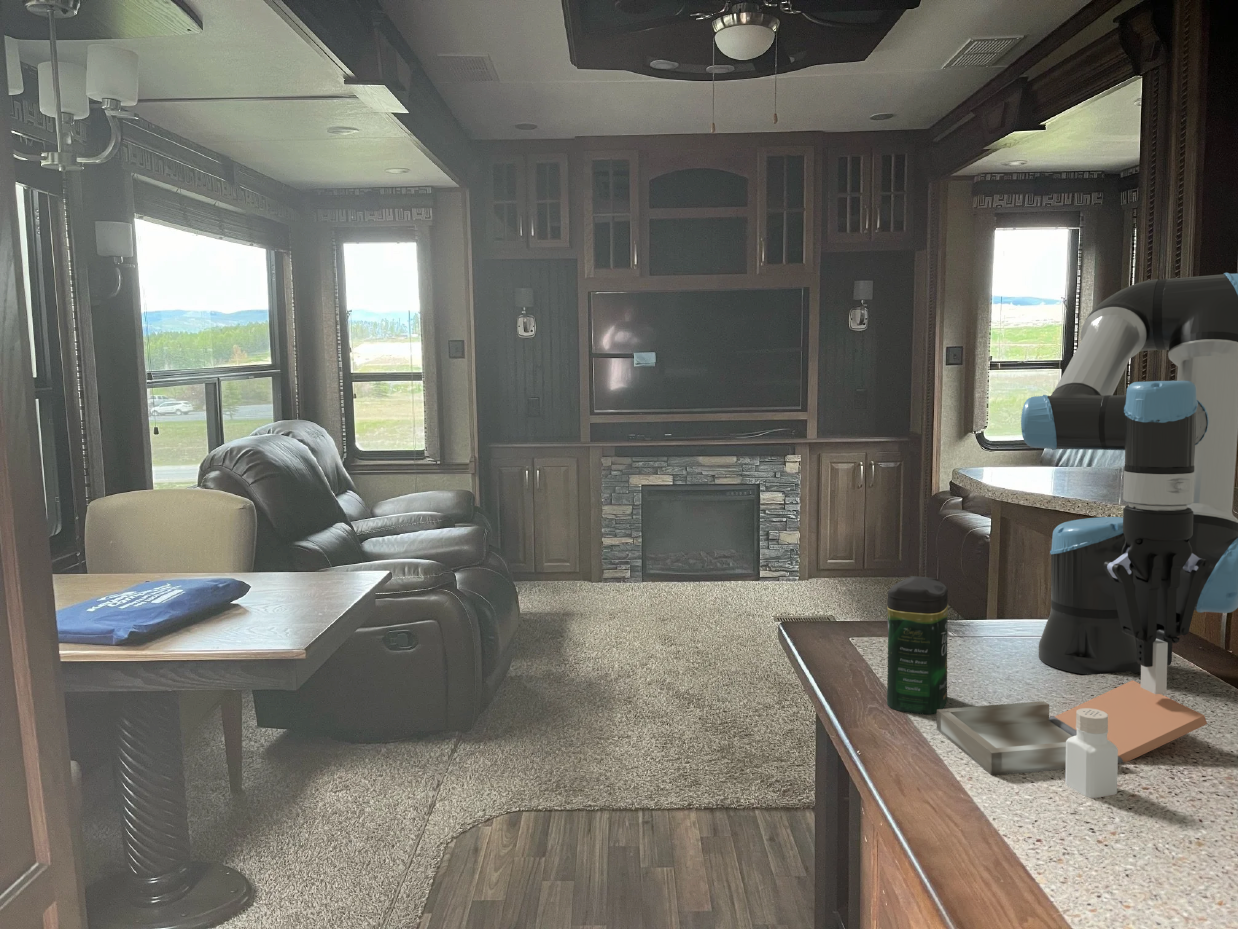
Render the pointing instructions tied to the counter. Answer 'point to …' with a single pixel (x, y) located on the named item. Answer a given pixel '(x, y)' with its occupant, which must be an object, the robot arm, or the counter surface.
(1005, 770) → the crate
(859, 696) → the counter surface
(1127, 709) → the panel
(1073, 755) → the pepper shaker
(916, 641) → the coffee jar
